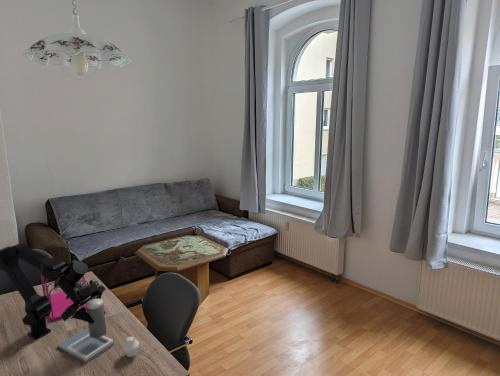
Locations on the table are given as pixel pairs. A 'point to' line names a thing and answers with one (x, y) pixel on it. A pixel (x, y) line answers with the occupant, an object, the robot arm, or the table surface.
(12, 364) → the table surface
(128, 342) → the muffin
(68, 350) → the charging board
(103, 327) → the grey cup with lid
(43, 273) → the robot arm
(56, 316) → the file sorter
